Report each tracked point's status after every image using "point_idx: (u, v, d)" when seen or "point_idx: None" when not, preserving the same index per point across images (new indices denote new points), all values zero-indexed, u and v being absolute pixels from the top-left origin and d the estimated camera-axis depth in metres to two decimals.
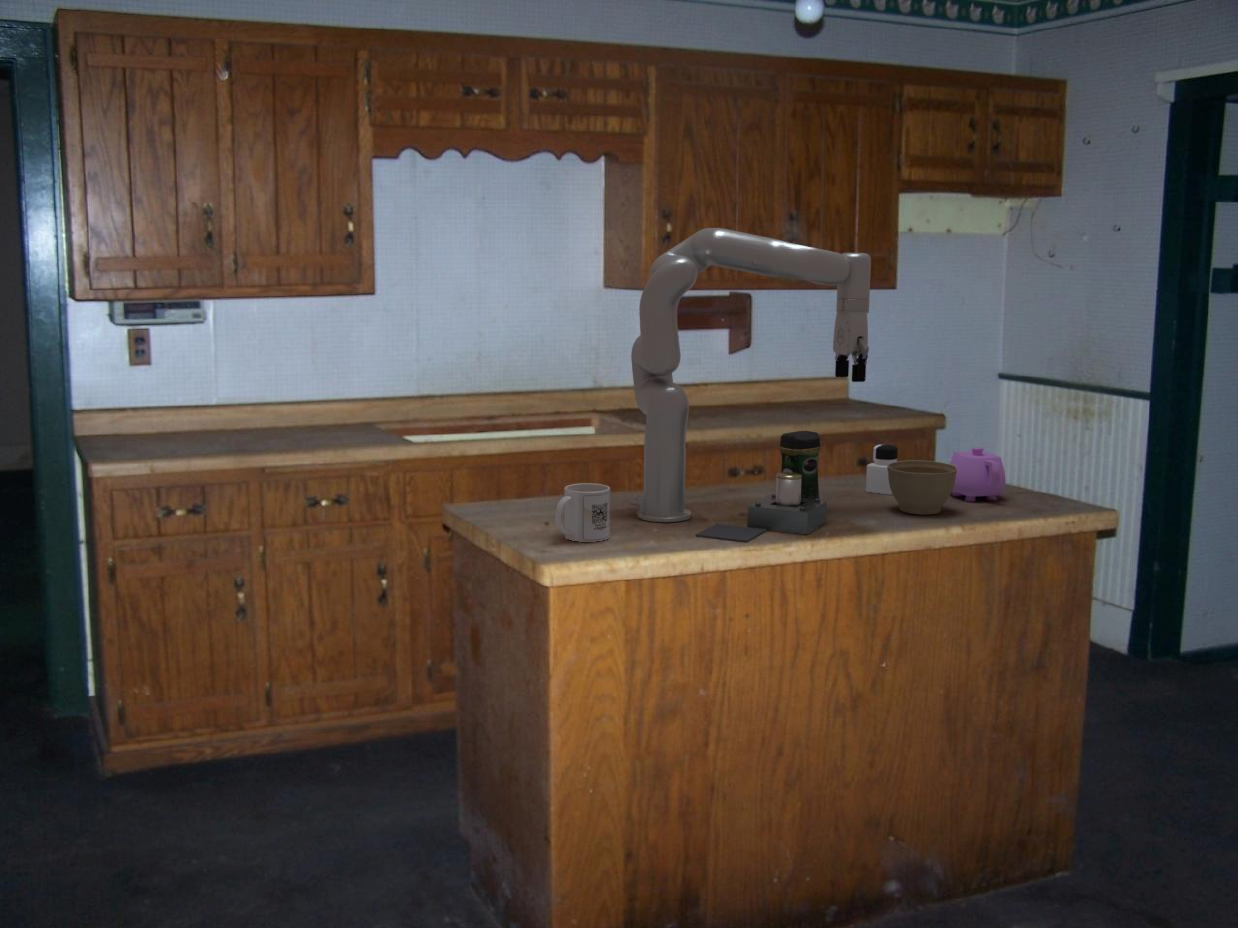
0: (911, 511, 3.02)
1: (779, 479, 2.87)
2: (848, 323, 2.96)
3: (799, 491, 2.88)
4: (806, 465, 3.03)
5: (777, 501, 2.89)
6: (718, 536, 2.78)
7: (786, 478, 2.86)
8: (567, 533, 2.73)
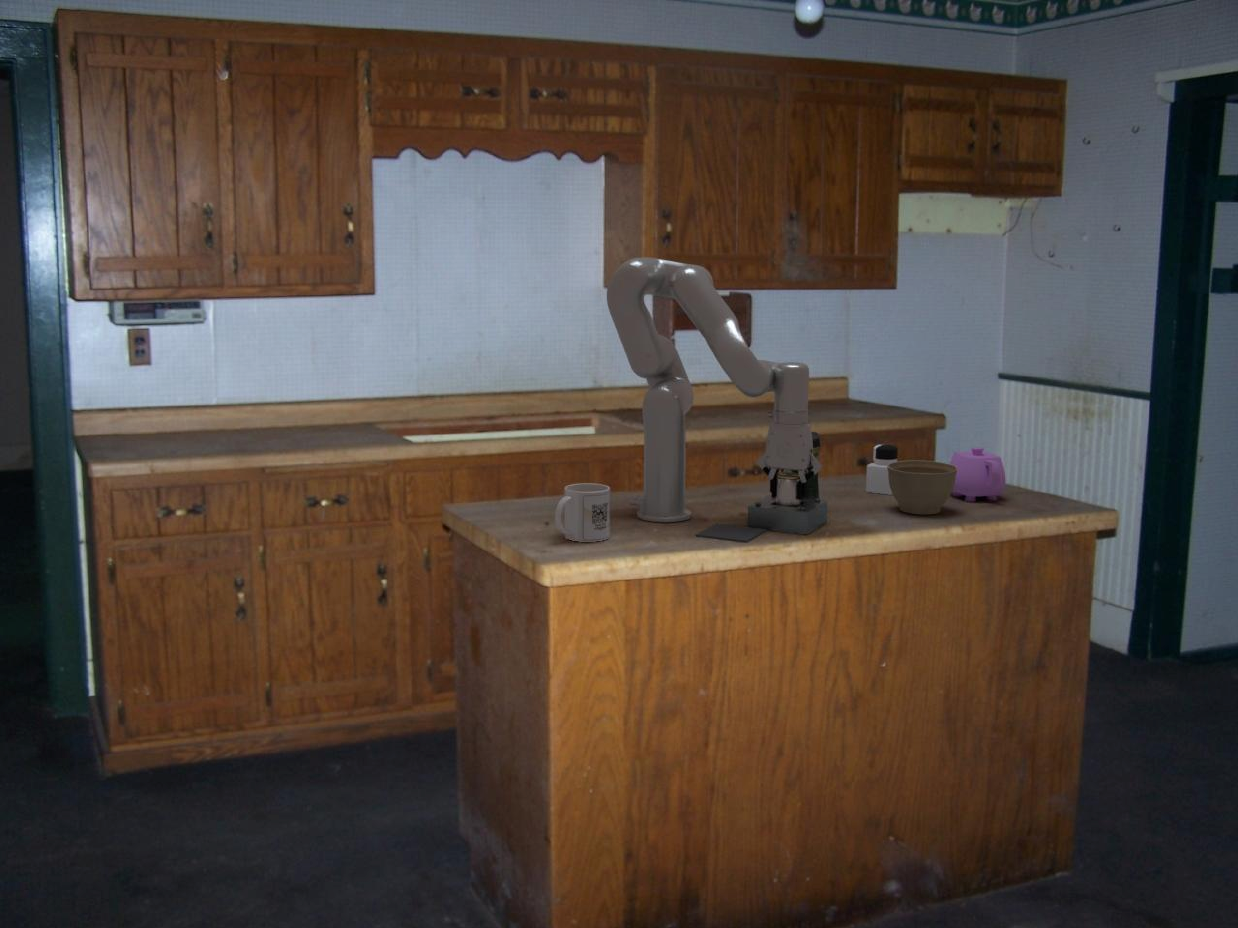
0: (911, 511, 3.02)
1: (779, 479, 2.87)
2: (802, 437, 2.83)
3: None
4: None
5: (777, 501, 2.89)
6: (718, 536, 2.78)
7: (786, 478, 2.86)
8: (567, 533, 2.73)
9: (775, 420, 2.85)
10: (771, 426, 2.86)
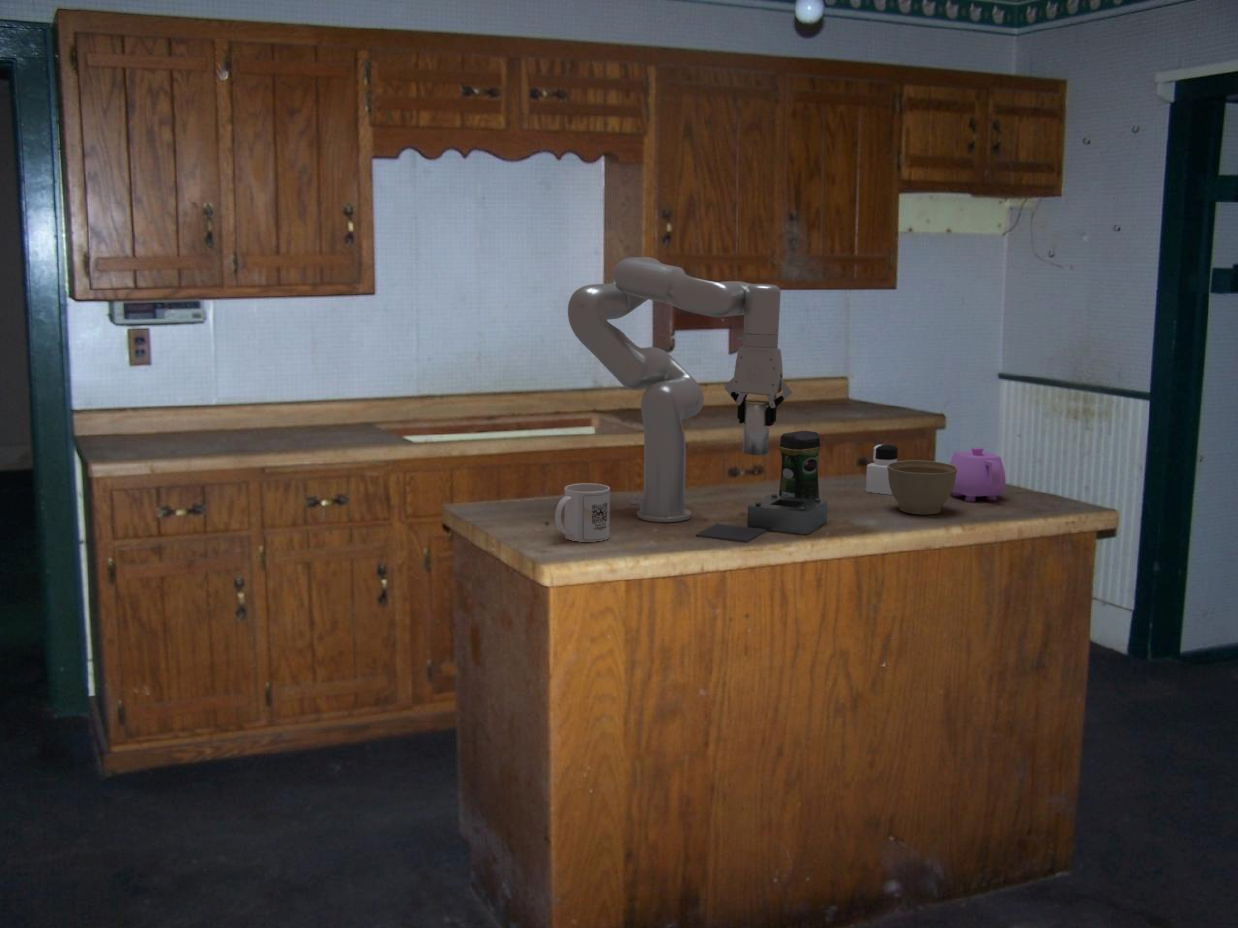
0: (911, 511, 3.02)
1: (748, 405, 2.79)
2: (772, 361, 2.75)
3: None
4: (806, 465, 3.03)
5: (745, 428, 2.81)
6: (718, 536, 2.78)
7: (755, 403, 2.78)
8: (567, 533, 2.73)
9: (745, 343, 2.77)
10: (740, 349, 2.78)
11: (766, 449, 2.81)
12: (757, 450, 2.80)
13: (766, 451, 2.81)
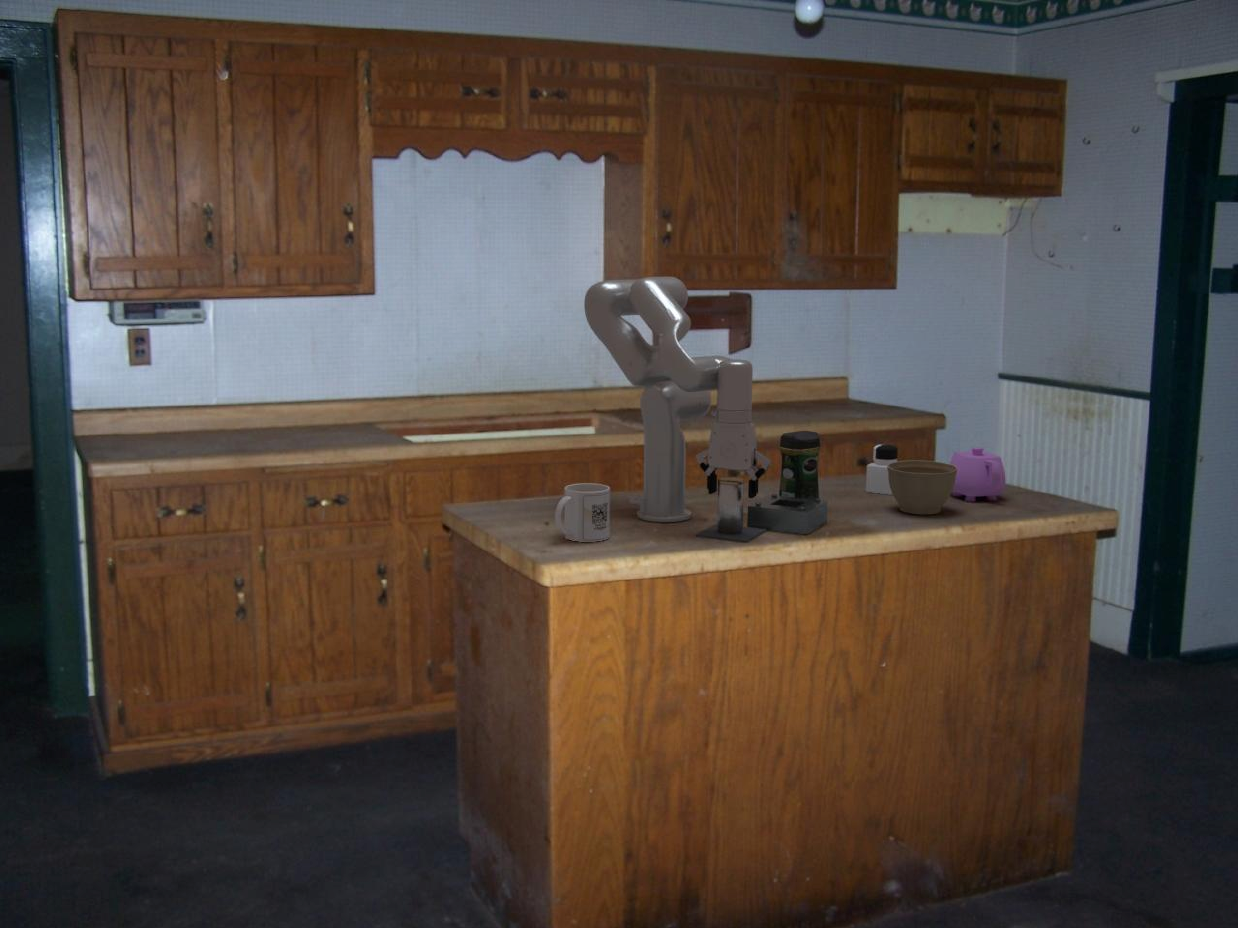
0: (911, 511, 3.02)
1: (721, 484, 2.78)
2: (745, 436, 2.74)
3: (741, 497, 2.79)
4: (806, 465, 3.03)
5: (719, 507, 2.80)
6: (718, 536, 2.78)
7: (727, 483, 2.77)
8: (567, 533, 2.73)
9: (718, 419, 2.76)
10: (714, 425, 2.77)
11: (740, 528, 2.80)
12: (730, 530, 2.79)
13: (740, 530, 2.80)
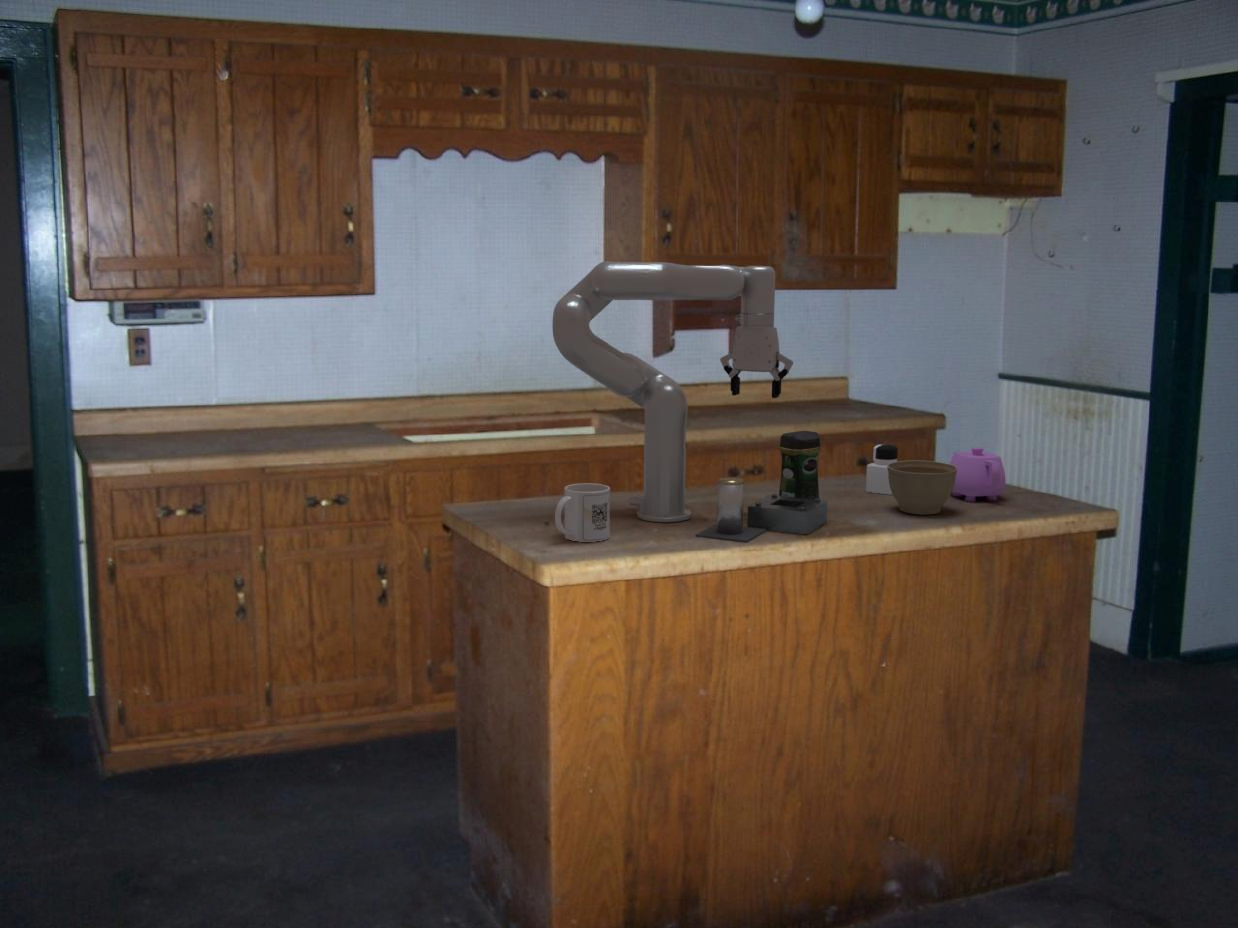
0: (911, 511, 3.02)
1: (721, 484, 2.78)
2: (768, 338, 2.87)
3: (741, 497, 2.79)
4: (806, 465, 3.03)
5: (719, 507, 2.80)
6: (718, 536, 2.78)
7: (727, 483, 2.77)
8: (567, 533, 2.73)
9: (742, 323, 2.89)
10: (738, 329, 2.90)
11: (740, 528, 2.80)
12: (730, 530, 2.79)
13: (740, 530, 2.80)
